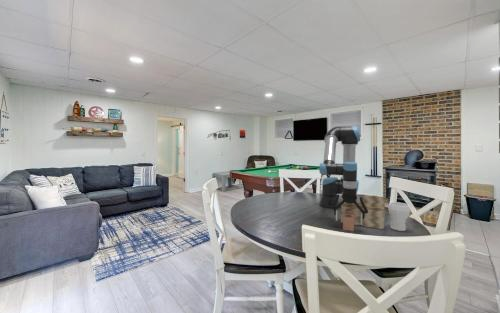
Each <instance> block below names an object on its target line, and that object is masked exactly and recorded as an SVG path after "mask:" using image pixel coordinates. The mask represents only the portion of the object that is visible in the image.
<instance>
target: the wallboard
mask: <svg viewBox="0 0 500 313" xmlns="http://www.w3.org/2000/svg"><path fill="white" fill-rule="evenodd" d="M341 195H343V192H342V194H341ZM356 196H357V197H360V196H362V200H363V202H364V204H365V206H366V208H367V210H368V213H365V218H364V219H362V225H361V213H362V212H361V211H360V210H359V209H358V208H357V206H356V205H355V204H354V203H346V202H344V203H343V204H342V205H341V206H340V223H341V224H343V215H344V213H345V210H346V211H354V215H355V217H354V226H355V225H356V226H360V225H361V226H362V227H368V228H375V229H379V230H380V229H381V230H384V229H385V210H386V209H385V198H386V197H385V196H383V195H372V194H361V193H357V194H356ZM342 200H343V198H342V197H341V201H342ZM356 202H357V203H358V204H359V206H360V207H361V208H362V209H363V210H364V208H363V206H362V204H361V202H360V200H358V199H356ZM364 211H365V210H364Z"/></svg>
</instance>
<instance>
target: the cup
mask: <svg viewBox="0 0 500 313" xmlns="http://www.w3.org/2000/svg"><path fill="white" fill-rule="evenodd" d="M387 210H388V211H387V212H388V213H389V217H390V219H391V223H390V229H392V230H394V231H398V232H399V231H400V232H404V231H407V227H406V222H407V219H408V218H409V216H410V213H411V209H410V205H409V204H407V203H404V202H399V201H398V202H397V201H392V202H389V204H388V208H387Z"/></svg>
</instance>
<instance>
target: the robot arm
mask: <svg viewBox="0 0 500 313" xmlns="http://www.w3.org/2000/svg"><path fill="white" fill-rule="evenodd" d="M360 141H361V134H360V128H359V127H358V126H356V125H355V126H354V125H350V126H348V125H347V126H334V127H332V128H331V129H330V130H328V131H327V132H326V134H325V135H324V143H325V145H324V153H323V161H322V162H321V163H319V170H318V172H319V174H321V175H327V176H328V175H330V176H331V177H324V178H323V179H322V183H321V185H322V187H321V190H322V191H321V192H322V193H321V199H320V201H319V205H320V206H321V207H322V208H326V209H332V210H333V215H334V216H335V221H336V222H338V220H339V218H338V216H339V215H338V214H339V208H341V205H342V204H343V203H344V202H346V203H354V204H355V205H356V206H357V208H358V209H359V210H360V211H361V212H362V213H361V225H362V219H364V218H365V213H368V210H367V208H366V206H365V204H364V202H363V200H362V196H360V197H357V196H356V194H358V190H359V184H360V182H359V180H358V179H357V178H358V164H357V162H356V146H357V145H359V142H360ZM338 142H339V143H340V142H341V143H340V144H341V145H342V148H343V149H342V151H343V152H342V154H343V156H342V163H336V155H337V154H336V153H337V151H336V149H337V143H338ZM333 175H334V176H341V177H340V179H339V178H338V177H333ZM342 192H343V195H342ZM342 198H343V200H342ZM339 199H341V201H340V202H339ZM356 199H358V200H360V202H361V204H362V206H363V208H364V210H365V211H364V210H363V209H362V208H361V207H360V206H359V204H358V203H357V202H356Z"/></svg>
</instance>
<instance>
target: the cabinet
mask: <svg viewBox="0 0 500 313" xmlns="http://www.w3.org/2000/svg"><path fill="white" fill-rule="evenodd" d="M354 217H355V215H354V211H346V210H345V213H344V215H343V223H342V231H348V230H349V232H353V231H354V232H355V225H354Z"/></svg>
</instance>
